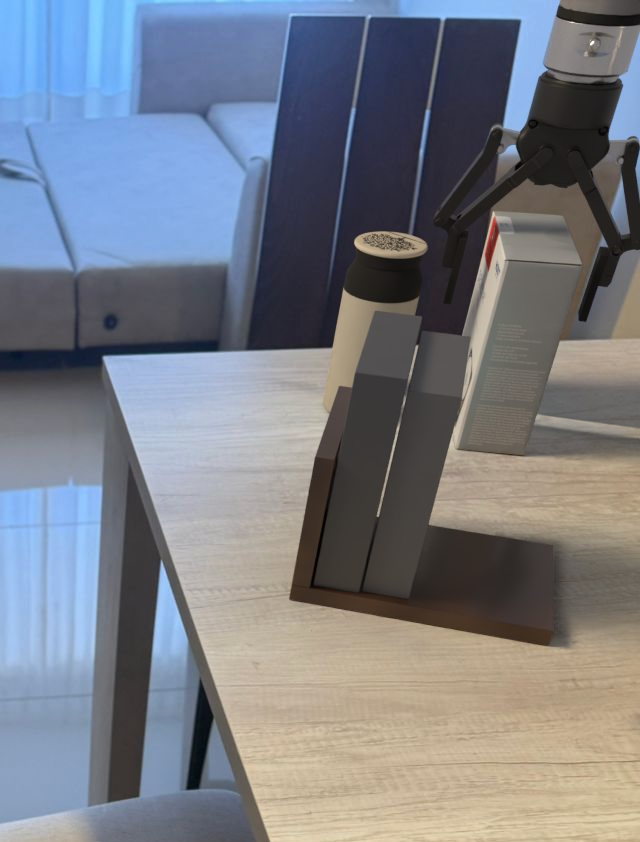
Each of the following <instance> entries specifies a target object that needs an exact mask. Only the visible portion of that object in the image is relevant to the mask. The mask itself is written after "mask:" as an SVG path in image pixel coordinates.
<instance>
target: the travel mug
mask: <svg viewBox="0 0 640 842" xmlns="http://www.w3.org/2000/svg"><path fill="white" fill-rule="evenodd" d="M353 243H354V246H355V258H354V259H353V261H352V262H351V264H350V265H349V267H347V269H346V272H345V278H344V283H343V289H342V294H341V300H340V306H339V311H338V315H337V321H336V327H335V332H334V337H333V344H332V349H331V355H330V359H329V366H328V370H327V376H326V382H325V386H324V393H323V398H322V406H323V408H324V409H325V410H326V411H327V412H328V413H330V411H331V408H332V405H333V402H334V399H335V396H336V393H337V390H338V387H339V386H345V387H352V385H353V380H354V375H355V371H356V368H357V365H358V362H359V359H360V355H361V352H362V349H363V346H364V343H365V340H366V337H367V333H368V330H369V327H370V324H371V321H372V318H373V315H374V312H375V311H382V312H390V313H399V314H407V315H415V316H416V313H417V308H418V305H419V299H420V294H421V291H422V286H423V282H424V276H423V273H422V267H421V265H420V264H421V262H422V259H423V257H424V255H425V253H426V252H427V251H428V248H429V247H428V243H427V242H426V241H425V240H423V238H420V237H417V236H414V235H412V234H408V233H405V232H404V233H403V232H396V231H370V232H365V233H362V234H359V235H358V236H356V237H355V239H354V241H353Z"/></svg>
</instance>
